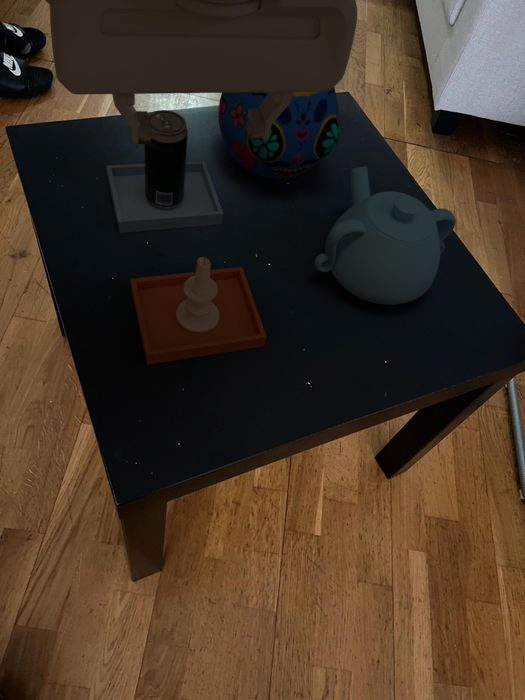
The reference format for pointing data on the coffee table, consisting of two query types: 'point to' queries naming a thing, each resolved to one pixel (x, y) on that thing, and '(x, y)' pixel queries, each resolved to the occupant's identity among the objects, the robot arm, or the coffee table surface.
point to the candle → (199, 301)
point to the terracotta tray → (177, 343)
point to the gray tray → (142, 216)
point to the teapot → (385, 244)
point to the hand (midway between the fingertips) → (200, 137)
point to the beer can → (166, 160)
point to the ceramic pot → (281, 133)
